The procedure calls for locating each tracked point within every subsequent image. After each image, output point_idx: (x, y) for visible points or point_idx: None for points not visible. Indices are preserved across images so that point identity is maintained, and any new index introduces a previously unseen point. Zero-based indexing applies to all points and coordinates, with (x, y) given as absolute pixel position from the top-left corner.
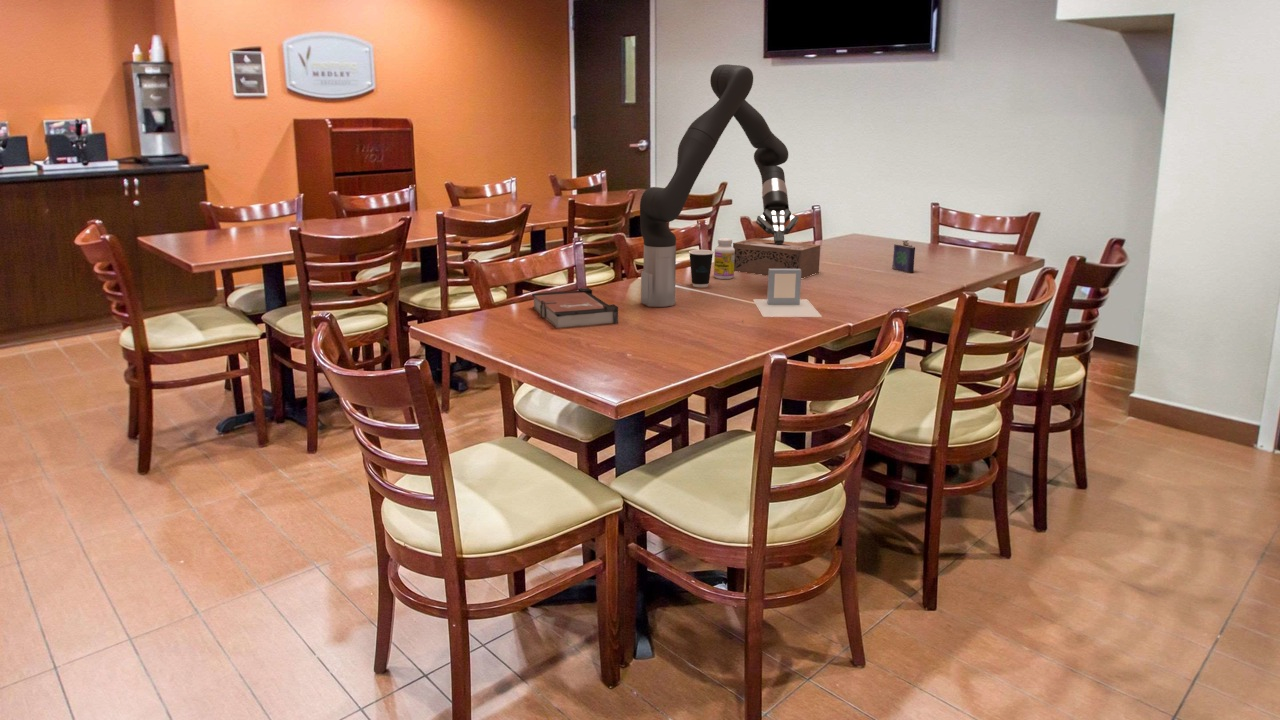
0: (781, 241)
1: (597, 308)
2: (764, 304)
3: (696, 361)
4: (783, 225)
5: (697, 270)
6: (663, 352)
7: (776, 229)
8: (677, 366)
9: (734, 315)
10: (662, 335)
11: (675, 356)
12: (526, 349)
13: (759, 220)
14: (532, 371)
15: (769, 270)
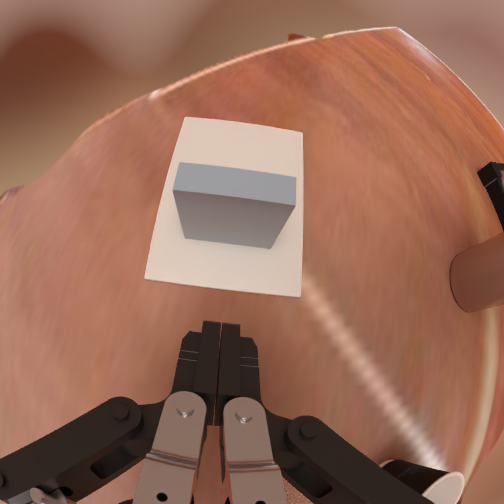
0: (210, 321)
1: (502, 171)
2: (281, 230)
3: (374, 45)
4: (157, 446)
5: (423, 466)
6: (405, 70)
7: (243, 406)
8: (385, 45)
9: (352, 169)
10: (424, 110)
11: (393, 59)
12: (489, 122)
13: (411, 491)
14: (461, 80)
15: (295, 182)
